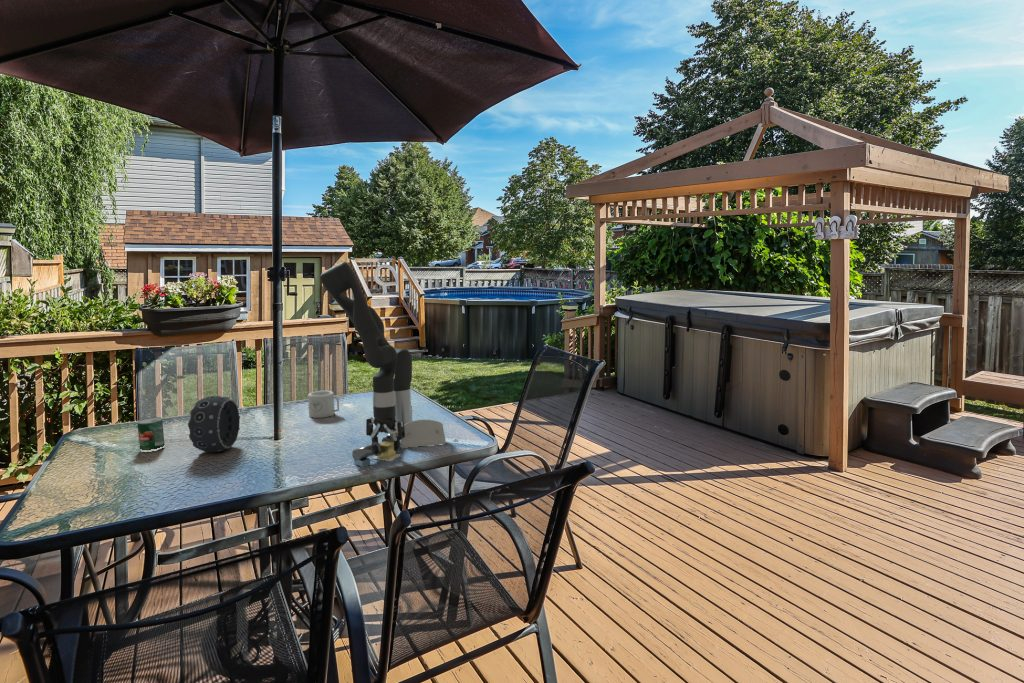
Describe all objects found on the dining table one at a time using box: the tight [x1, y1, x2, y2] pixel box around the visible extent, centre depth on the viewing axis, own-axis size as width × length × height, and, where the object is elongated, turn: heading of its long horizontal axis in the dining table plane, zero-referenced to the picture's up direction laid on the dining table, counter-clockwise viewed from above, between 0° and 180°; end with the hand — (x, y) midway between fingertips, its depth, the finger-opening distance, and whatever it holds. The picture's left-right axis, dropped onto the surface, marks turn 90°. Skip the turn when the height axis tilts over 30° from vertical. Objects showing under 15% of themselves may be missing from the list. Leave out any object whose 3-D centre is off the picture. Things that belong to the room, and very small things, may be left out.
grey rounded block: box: [400, 419, 446, 449], centre depth 219 cm, size 17×5×10 cm, turn 101°
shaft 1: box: [351, 441, 382, 468], centre depth 199 cm, size 9×5×6 cm, turn 138°
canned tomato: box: [136, 416, 166, 450], centre depth 216 cm, size 8×8×11 cm
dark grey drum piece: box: [187, 395, 241, 453], centre depth 213 cm, size 11×20×20 cm, turn 2°
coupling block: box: [377, 441, 397, 459], centre depth 205 cm, size 4×4×4 cm
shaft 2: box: [381, 430, 394, 442], centre depth 213 cm, size 9×5×6 cm, turn 179°
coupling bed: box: [371, 453, 402, 462], centre depth 206 cm, size 7×8×1 cm
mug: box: [307, 390, 340, 419], centre depth 259 cm, size 14×11×10 cm
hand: (386, 448), depth 205 cm, fingers open, 8 cm apart
